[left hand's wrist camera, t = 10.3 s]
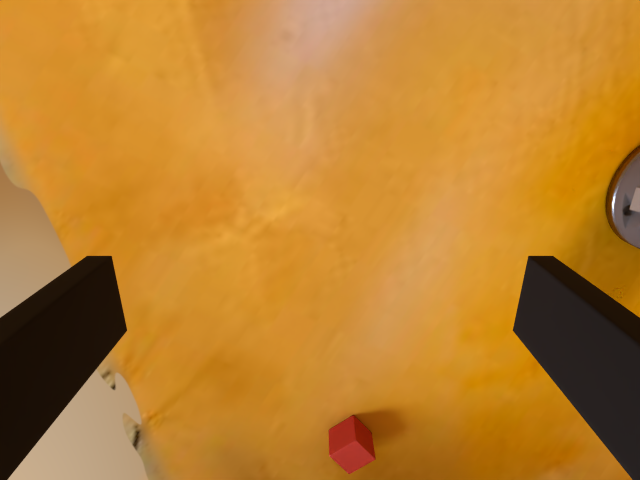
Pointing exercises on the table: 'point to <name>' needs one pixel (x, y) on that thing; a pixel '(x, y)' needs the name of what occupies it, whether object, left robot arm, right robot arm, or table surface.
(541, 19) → the table surface
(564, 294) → the left robot arm
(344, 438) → the block
